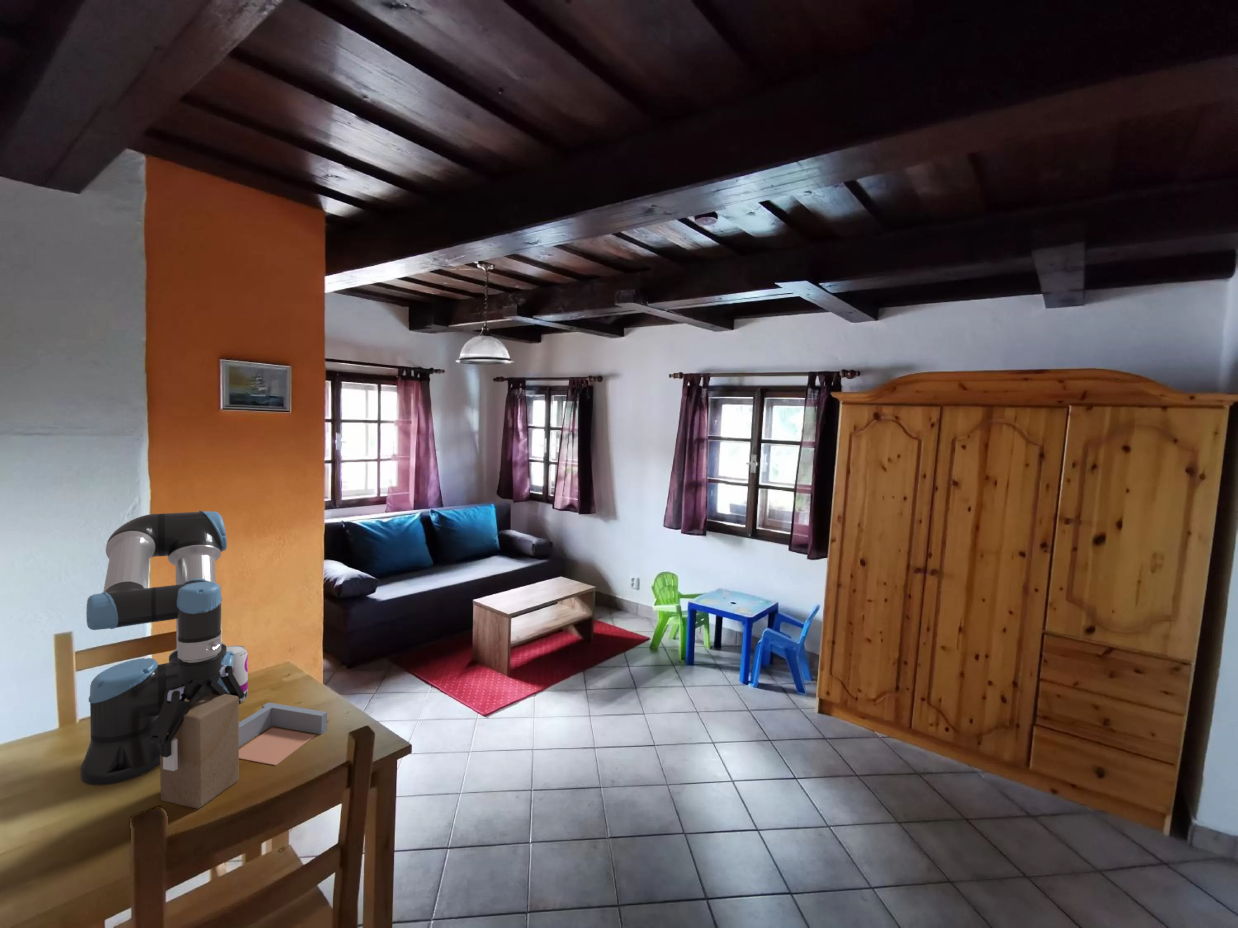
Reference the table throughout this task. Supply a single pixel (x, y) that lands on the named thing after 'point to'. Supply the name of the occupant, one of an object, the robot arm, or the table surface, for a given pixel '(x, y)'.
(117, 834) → the table surface
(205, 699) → the wooden block
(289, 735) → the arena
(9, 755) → the table surface
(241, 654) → the supplement can
